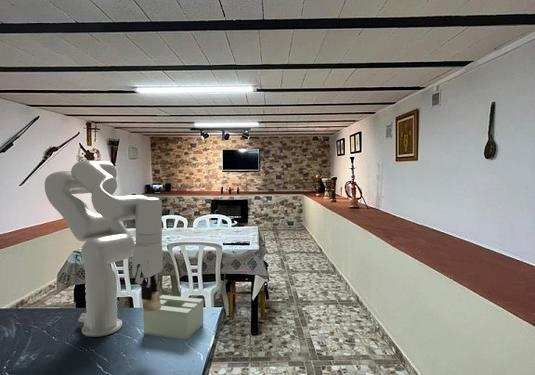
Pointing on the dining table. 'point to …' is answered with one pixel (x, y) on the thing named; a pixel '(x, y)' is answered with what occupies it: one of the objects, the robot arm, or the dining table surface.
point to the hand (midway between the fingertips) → (149, 297)
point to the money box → (174, 317)
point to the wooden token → (152, 303)
